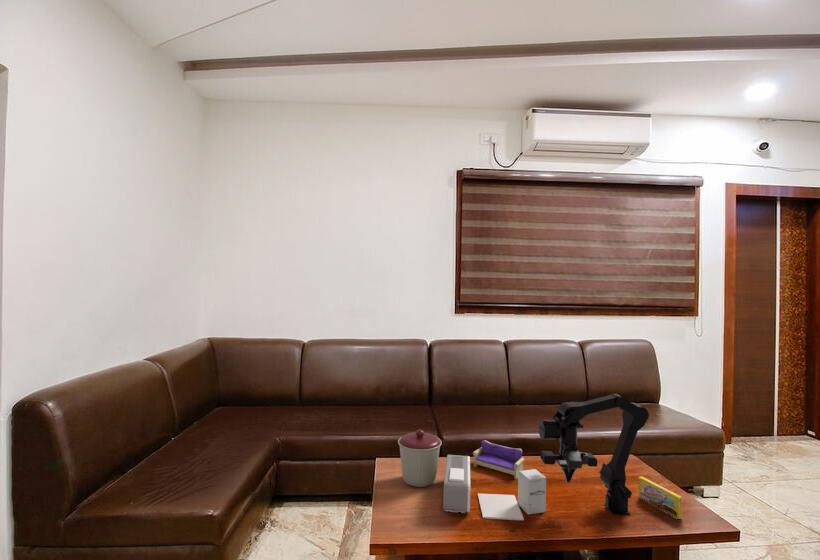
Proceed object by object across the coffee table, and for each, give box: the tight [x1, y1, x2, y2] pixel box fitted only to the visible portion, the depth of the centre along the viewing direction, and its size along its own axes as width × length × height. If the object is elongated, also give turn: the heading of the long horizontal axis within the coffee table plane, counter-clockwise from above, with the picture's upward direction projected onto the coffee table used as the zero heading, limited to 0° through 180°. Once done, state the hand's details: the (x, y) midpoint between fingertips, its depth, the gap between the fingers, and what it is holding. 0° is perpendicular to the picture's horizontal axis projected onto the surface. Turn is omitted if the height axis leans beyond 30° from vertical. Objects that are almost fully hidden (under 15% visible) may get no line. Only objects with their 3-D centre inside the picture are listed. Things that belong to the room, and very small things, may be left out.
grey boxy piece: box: [442, 454, 471, 514], centre depth 155 cm, size 27×9×12 cm, turn 172°
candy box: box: [638, 475, 683, 520], centre depth 150 cm, size 16×2×8 cm, turn 20°
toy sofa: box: [472, 439, 525, 480], centre depth 179 cm, size 21×9×10 cm, turn 54°
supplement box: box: [517, 468, 547, 516], centre depth 148 cm, size 7×7×13 cm
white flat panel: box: [477, 492, 525, 521], centre depth 148 cm, size 14×16×1 cm
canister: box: [397, 429, 443, 488], centre depth 167 cm, size 18×18×21 cm
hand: (567, 482), depth 147 cm, fingers closed
